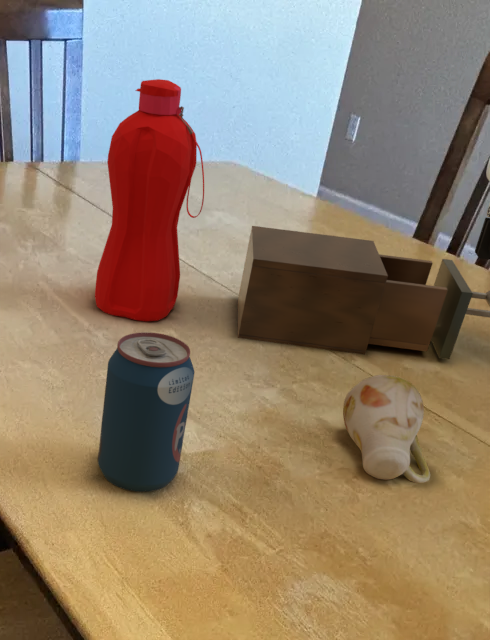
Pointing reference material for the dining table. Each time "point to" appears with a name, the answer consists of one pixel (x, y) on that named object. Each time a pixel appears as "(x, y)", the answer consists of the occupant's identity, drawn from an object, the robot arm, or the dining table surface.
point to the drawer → (423, 306)
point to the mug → (386, 426)
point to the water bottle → (147, 206)
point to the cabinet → (310, 290)
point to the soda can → (145, 411)
